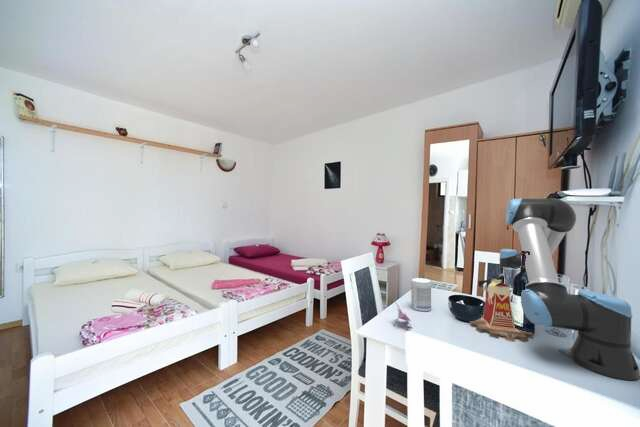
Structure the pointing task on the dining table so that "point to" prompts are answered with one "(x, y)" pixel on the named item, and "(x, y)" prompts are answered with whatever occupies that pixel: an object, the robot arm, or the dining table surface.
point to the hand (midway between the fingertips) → (501, 291)
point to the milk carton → (498, 306)
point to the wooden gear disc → (501, 331)
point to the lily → (402, 316)
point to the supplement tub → (421, 294)
